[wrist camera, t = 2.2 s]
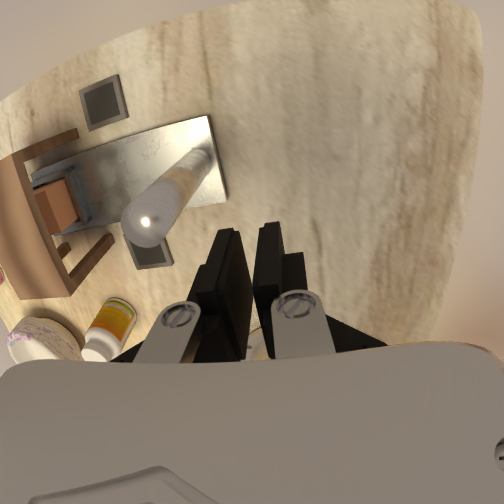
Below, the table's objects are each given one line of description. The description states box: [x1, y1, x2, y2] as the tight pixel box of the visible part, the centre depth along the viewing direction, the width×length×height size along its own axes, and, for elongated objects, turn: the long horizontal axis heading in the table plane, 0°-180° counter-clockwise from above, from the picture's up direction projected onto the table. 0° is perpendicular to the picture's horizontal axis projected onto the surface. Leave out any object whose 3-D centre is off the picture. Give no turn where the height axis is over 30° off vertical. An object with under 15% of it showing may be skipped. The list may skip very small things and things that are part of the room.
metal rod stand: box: [30, 115, 228, 248], centre depth 26 cm, size 24×9×15 cm, turn 101°
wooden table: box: [0, 75, 174, 300], centre depth 30 cm, size 30×23×11 cm
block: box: [33, 177, 79, 235], centre depth 31 cm, size 5×5×5 cm
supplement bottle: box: [81, 298, 137, 362], centre depth 39 cm, size 5×5×10 cm
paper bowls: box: [7, 317, 85, 364], centre depth 46 cm, size 15×15×8 cm
